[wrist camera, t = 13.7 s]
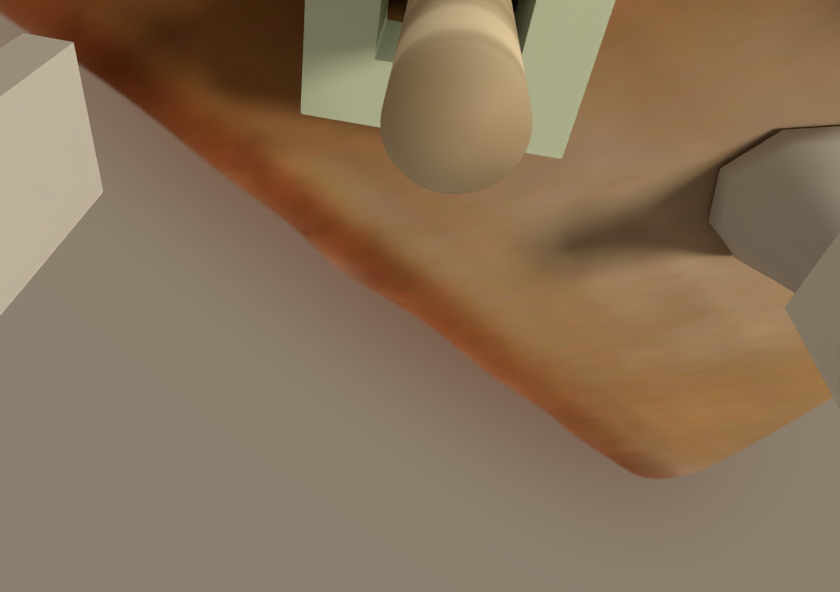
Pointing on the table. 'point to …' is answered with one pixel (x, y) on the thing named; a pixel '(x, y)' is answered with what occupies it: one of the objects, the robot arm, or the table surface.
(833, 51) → the table surface
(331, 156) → the table surface
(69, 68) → the robot arm
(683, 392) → the table surface
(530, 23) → the socket board
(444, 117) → the beech peg
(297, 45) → the table surface
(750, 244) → the flask
